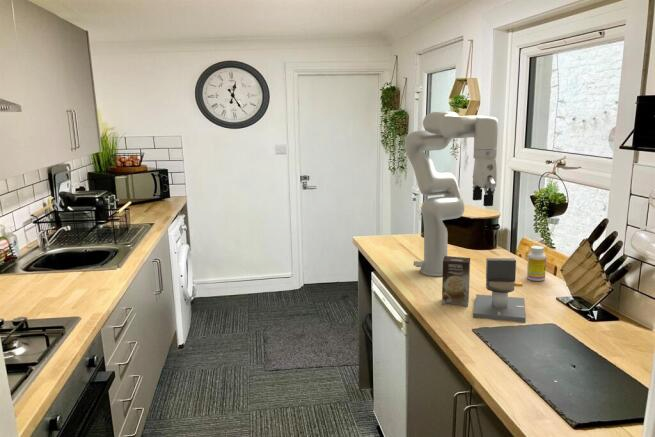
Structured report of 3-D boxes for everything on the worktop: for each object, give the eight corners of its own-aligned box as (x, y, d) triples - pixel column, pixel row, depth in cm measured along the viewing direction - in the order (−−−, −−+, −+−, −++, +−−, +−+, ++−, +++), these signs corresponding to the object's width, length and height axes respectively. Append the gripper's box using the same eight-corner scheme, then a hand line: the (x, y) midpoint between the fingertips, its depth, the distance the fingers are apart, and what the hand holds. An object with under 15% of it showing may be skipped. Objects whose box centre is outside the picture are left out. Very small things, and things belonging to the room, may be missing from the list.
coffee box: (441, 305, 180) (441, 260, 177) (443, 298, 186) (443, 255, 183) (468, 307, 177) (469, 262, 174) (469, 300, 183) (470, 257, 180)
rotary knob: (488, 292, 169) (489, 263, 167) (484, 283, 177) (485, 255, 175) (524, 293, 167) (526, 263, 165) (519, 284, 176) (520, 255, 174)
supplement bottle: (546, 281, 199) (548, 249, 196) (528, 281, 200) (529, 249, 198) (543, 276, 205) (544, 245, 203) (525, 275, 207) (526, 244, 204)
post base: (473, 317, 168) (473, 296, 167) (476, 298, 185) (476, 278, 183) (525, 322, 163) (526, 300, 162) (524, 302, 180) (524, 282, 178)
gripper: (506, 156, 168) (503, 207, 172) (485, 150, 185) (483, 197, 189) (484, 157, 167) (481, 208, 171) (465, 151, 184) (463, 198, 188)
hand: (482, 202), depth 180 cm, fingers open, 9 cm apart
